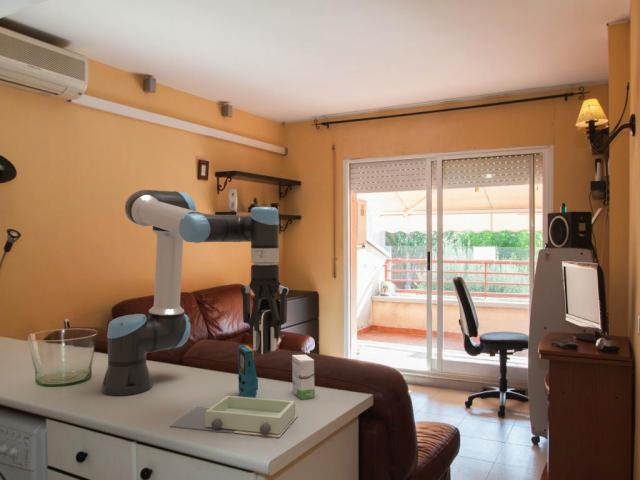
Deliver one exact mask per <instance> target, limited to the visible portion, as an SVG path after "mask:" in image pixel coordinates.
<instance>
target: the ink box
mask: <svg viewBox="0 0 640 480" xmlns="http://www.w3.org/2000/svg"><path fill="white" fill-rule="evenodd" d="M291 362H292V363H291V367H292V369H291V370H292V375H291V376H292V379H291V380H292V384H291V385H292V393H293V394H295V395H296V396H297V397H298V398H299V399H300V400H306V399H315V397H316V395H315V393H316V392H315V359H313V358H312V357H310V356H308V355H307V354H292V355H291Z"/></svg>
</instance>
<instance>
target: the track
mask: <svg viewBox="0 0 640 480" xmlns="http://www.w3.org/2000/svg"><path fill="white" fill-rule="evenodd" d="M209 408H210V407H203V406H197V407H196V408H194V409H191V411H190V412H188V413H187V414H185V415H183V416H182V417H180V418H179V419H178V420H176V421H174V422H173V423H171V424H170V425H169V427H170V428H178V429H187V430H194V431H195V430H197V431H204V432H205V431H206V432H217V433H226V434H237V435H244V436H253V437H262V438H263V437H264V438H272V439H273V438H274V439H280V438H281V436H283V434H284V433H285V432H286V431H287V430H288V429H289V428H290V426H291V425H292V424H293V423H294V422H295V421H296V419H298V415H295V417H294V418H293V419H292V420H291V421H290V423H289V424H288V425H287V426H286V427H285V428H284V429H283V431H282V432H281V433H280V434H273V433H268V434H266V435H264V434H262V433H261V432H254V431H244V430H234V429H224V428H219V429H217V430H215V429H213V428H212V427H205V411H206V410H208V409H209Z"/></svg>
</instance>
